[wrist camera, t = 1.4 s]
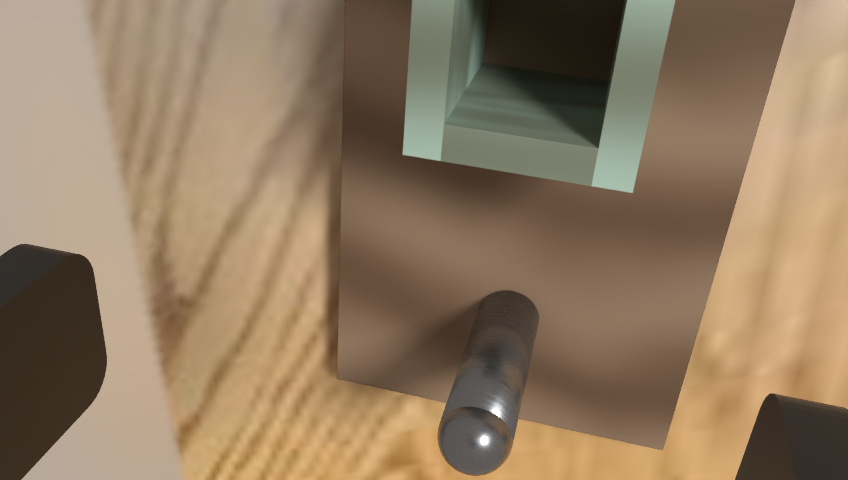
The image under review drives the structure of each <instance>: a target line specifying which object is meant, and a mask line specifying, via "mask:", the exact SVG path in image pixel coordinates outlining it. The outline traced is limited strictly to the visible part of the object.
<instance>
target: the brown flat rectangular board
mask: <svg viewBox="0 0 848 480" xmlns="http://www.w3.org/2000/svg"><path fill="white" fill-rule="evenodd" d="M794 4H795V0H675V4H674V9H673V13H672V18H671V22H670V27H669V31H668V36H667V40H666V45H665V49H664V54H663V59H662V63H661V68H660V72H659V77H658V81H657V86H656V90H655V95H654V99H653V104H652V108H651V113H650V117H649V122H648V126H647V131H646V135H645V140H644V144H643V149H642V153H641V158H640V162H639V167H638V171H637V176H636V180H635V185H634V189H633V193H629V192H623V191H617V190H611V189H605V188H599V187H593V186H587V185H581V184H575V183H569V182H563V181H557V180H551V179H545V178H539V177H533V176H527V175H521V174H515V173H509V172H503V171H497V170H491V169H485V168H479V167H473V166H467V165H461V164H455V163H449V162H443V161H437V160H431V159H425V158H419V157H413V156H407V155H403V140H404V124H405V108H406V92H407V76H408V60H409V44H410V28H411V12H412V0H345V41H344V86H343V132H342V177H341V222H340V268H339V313H338V359H337V379H342V380H346V381H351V382H355V383H360V384H364V385H369V386H373V387H378V388H382V389H387V390H391V391H396V392H400V393H405V394H410V395H414V396H419V397H423V398H428V399H432V400H437V401H441V402H446V403H447V401H448V398H449V395H450V392H451V389H452V386H453V383H454V380H455V377H456V374H457V371H458V368H459V365H460V362H461V359H462V357H463V354H464V351H465V348H466V345H467V342H468V339H469V336H470V333H471V330H472V327H473V324H474V321H475V318H476V315H477V312H478V309H479V307H480V304H481V302H482V301H483V299H484V298H485V297H486V296H488V295H489V294H491V293H493V292H496V291H500V290H510V291H515V292H518V293H521V294H523V295H525V296H526V297H528V298H529V299H530V300H531V301H532V302H533V303H534V305H535V306H536V308H537V310H538V313H539V324H538V329H537V334H536V338H535V343H534V348H533V352H532V357H531V361H530V366H529V371H528V375H527V380H526V385H525V389H524V394H523V399H522V403H521V408H520V412H519V417H518V419H523V420H527V421H532V422H537V423H541V424H546V425H550V426H555V427H559V428H564V429H568V430H573V431H577V432H582V433H586V434H591V435H595V436H600V437H605V438H609V439H614V440H618V441H623V442H627V443H632V444H636V445H641V446H645V447H650V448H654V449H659V450H663V448H664V445H665V441H666V438H667V435H668V431H669V428H670V424H671V421H672V418H673V414H674V411H675V407H676V404H677V401H678V397H679V394H680V391H681V387H682V384H683V380H684V377H685V374H686V370H687V367H688V363H689V360H690V357H691V353H692V350H693V346H694V343H695V340H696V336H697V333H698V329H699V326H700V323H701V319H702V316H703V312H704V309H705V306H706V302H707V299H708V295H709V292H710V289H711V285H712V282H713V278H714V275H715V272H716V268H717V265H718V262H719V258H720V255H721V251H722V248H723V245H724V241H725V238H726V234H727V231H728V228H729V224H730V221H731V217H732V214H733V211H734V207H735V204H736V200H737V197H738V194H739V190H740V187H741V183H742V180H743V177H744V173H745V170H746V166H747V163H748V160H749V156H750V153H751V149H752V146H753V143H754V139H755V136H756V133H757V129H758V126H759V122H760V119H761V116H762V112H763V109H764V105H765V102H766V99H767V95H768V92H769V88H770V85H771V82H772V78H773V75H774V71H775V68H776V65H777V61H778V58H779V54H780V51H781V48H782V44H783V41H784V37H785V34H786V31H787V27H788V24H789V21H790V17H791V14H792V10H793V7H794ZM623 5H624V0H490V3H489V13H488V22H487V31H486V40H485V49H484V58H483V63H488V64H495V65H502V66H509V67H516V68H523V69H530V70H537V71H544V72H551V73H558V74H565V75H572V76H579V77H586V78H593V79H600V80H607V81H609V78H610V73H611V68H612V62H613V57H614V52H615V47H616V41H617V36H618V31H619V26H620V20H621V15H622V10H623Z"/></svg>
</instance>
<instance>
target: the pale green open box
mask: <svg viewBox="0 0 848 480" xmlns="http://www.w3.org/2000/svg"><path fill="white" fill-rule="evenodd" d="M489 3H490V0H412V12H411V28H410V44H409V60H408V76H407V92H406V108H405V124H404V140H403V155H407V156H413V157H419V158H425V159H431V160H437V161H443V162H449V163H455V164H461V165H467V166H473V167H479V168H485V169H491V170H497V171H503V172H509V173H515V174H521V175H527V176H533V177H539V178H545V179H551V180H557V181H563V182H569V183H575V184H581V185H587V186H593V187H599V188H605V189H611V190H617V191H623V192H629V193H633V189H634V185H635V180H636V176H637V171H638V167H639V162H640V158H641V153H642V149H643V144H644V140H645V135H646V131H647V126H648V122H649V117H650V113H651V108H652V104H653V99H654V95H655V90H656V86H657V81H658V77H659V72H660V68H661V63H662V59H663V54H664V49H665V45H666V40H667V36H668V31H669V27H670V22H671V18H672V13H673V9H674V4H675V0H624V5H623V10H622V15H621V20H620V26H619V31H618V36H617V41H616V47H615V52H614V57H613V62H612V68H611V73H610V78H609V81H607V80H600V79H593V78H586V77H579V76H572V75H565V74H558V73H551V72H544V71H537V70H530V69H523V68H516V67H509V66H502V65H495V64H488V63H483V58H484V49H485V40H486V31H487V22H488V13H489Z"/></svg>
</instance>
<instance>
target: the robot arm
mask: <svg viewBox="0 0 848 480" xmlns="http://www.w3.org/2000/svg"><path fill="white" fill-rule="evenodd" d="M106 365H107V355H106V348H105V341H104V335H103V328H102V322H101V316H100V310H99V303H98V296H97V290H96V284H95V277H94V272H93V268H92V266H91V263H90V262H89V260H88V259H87V258H86V257H84V256H82V255H80V254H74V253H70V252H64V251H59V250H54V249H49V248H44V247H39V246H34V245H29V244H20V245H17V246H15V247H13V248H12V249H10V250H8V251H7V252H6V253H4V254H3V255H1V256H0V480H21V479H22V478H23V477H24V476H25V475H26V474H27V473H28V471H30V469H31V468H32V467H33V466H34V465H35V464H36V463H37V462H38V461H39V460H40V459H41V458H42V456H44V454H45V453H46V452H47V451H48V450H49V449H50V448H51V447H52V446H53V445H54V444H55V443H56V441H57V440H58V439H59V438H60V437H61V436H62V435H63V434H64V433H65V432H66V431H67V430H68V429H69V428H70V426H71V425H72V424H73V423H74V422H75V421H76V420H77V419H78V418H79V417H80V416H81V415H82V413H83V412H84V411H85V410H86V409H87V408H88V407H89V406H90V405H91V404H92V402H93V401H94V399H95V398H96V396H97V394H98V392H99V391H100V388H101V386H102V383H103V380H104V377H105V372H106ZM735 480H848V409H846V408H843V407H838V406H833V405H828V404H823V403H818V402H813V401H808V400H803V399H797V398H792V397H787V396H782V395H777V394H772V393H771V394H769V395H768V396H767V397H766V398H765V400H764V401H763V403H762V405H761V408H760V410H759V413H758V416H757V419H756V422H755V425H754V427H753V430H752V433H751V436H750V439H749V442H748V444H747V447H746V450H745V453H744V456H743V459H742V461H741V464H740V467H739V470H738V473H737V476H736V478H735Z"/></svg>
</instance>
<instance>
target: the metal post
mask: <svg viewBox="0 0 848 480" xmlns="http://www.w3.org/2000/svg"><path fill="white" fill-rule="evenodd" d="M538 324H539V313H538V310H537V308H536V306H535V305H534V303H533V302H532V301H531V300H530V299H529V298H528V297H526V296H525V295H523V294H521V293H518V292H515V291H510V290H500V291H496V292H493V293H491V294H489V295H488V296H486V297H485V298H484V299H483V301H482V302H481V304H480V307H479V309H478V312H477V315H476V318H475V321H474V324H473V327H472V330H471V333H470V336H469V339H468V342H467V345H466V348H465V351H464V354H463V357H462V359H461V362H460V365H459V368H458V371H457V374H456V377H455V380H454V383H453V386H452V389H451V392H450V395H449V398H448V401H447V404H446V407H445V410H444V412H443V415H442V418H441V421H440V424H439V428H438V444H439V448H440V451H441V453H442V456H443V457H444V459H445V460H446V461H447V463H448V464H449V465H450V466H451V467H453V468H454V469H455V470H457V471H459V472H461V473H463V474H466V475H472V476H479V475H485V474H488V473H491V472H493V471H495V470H496V469H498V468H499V467H500V466H501V465H502V464H503V463H504V462H505V461H506V459H507V458H508V456H509V454H510V452H511V449H512V445H513V440H514V436H515V431H516V426H517V422H518V417H519V412H520V408H521V403H522V399H523V394H524V389H525V385H526V380H527V375H528V371H529V366H530V361H531V357H532V352H533V348H534V343H535V338H536V334H537V329H538Z"/></svg>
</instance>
